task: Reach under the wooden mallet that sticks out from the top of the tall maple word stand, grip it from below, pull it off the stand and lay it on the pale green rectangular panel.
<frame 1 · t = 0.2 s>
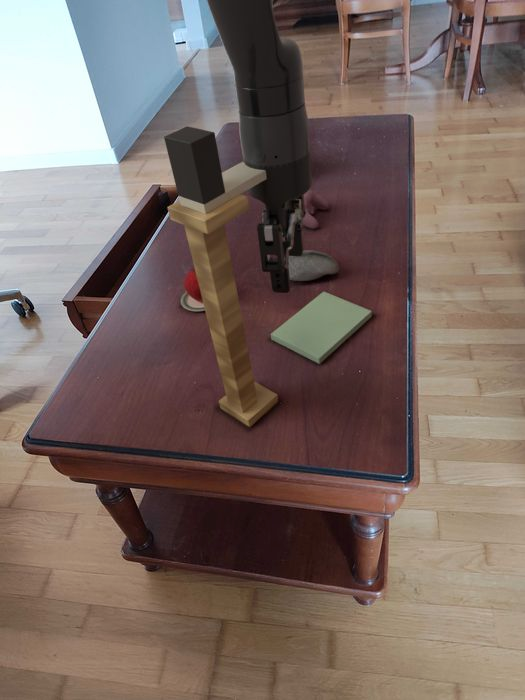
hand: (288, 272, 67), 17 cm above the table, tool pointing down, fingers open, 8 cm apart
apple: (203, 300, 95), on the table
video game controller: (310, 219, 113), on the table
pale green rectangular panel: (321, 328, 85), on the table
wooden mallet: (237, 184, 55), point 31 cm above the table, touching word stand
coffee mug: (286, 175, 131), on the table
seashell: (307, 274, 97), on the table
word stand: (249, 404, 74), on the table
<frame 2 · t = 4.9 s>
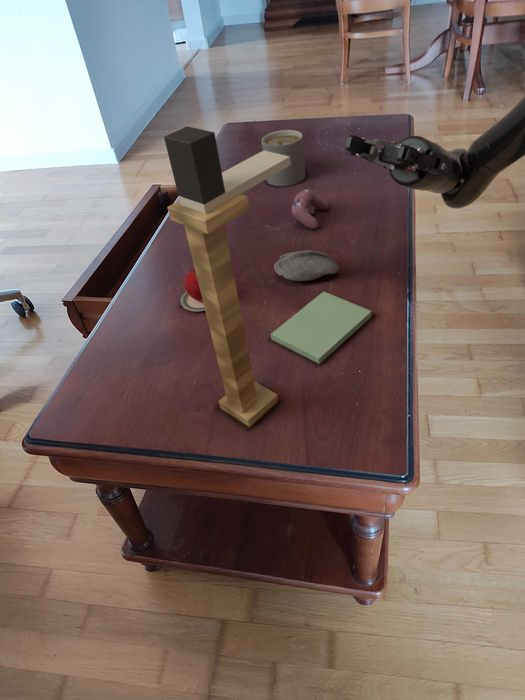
hand: (374, 147, 72), 26 cm above the table, tool pointing upward, fingers open, 8 cm apart
nothing on the table moved.
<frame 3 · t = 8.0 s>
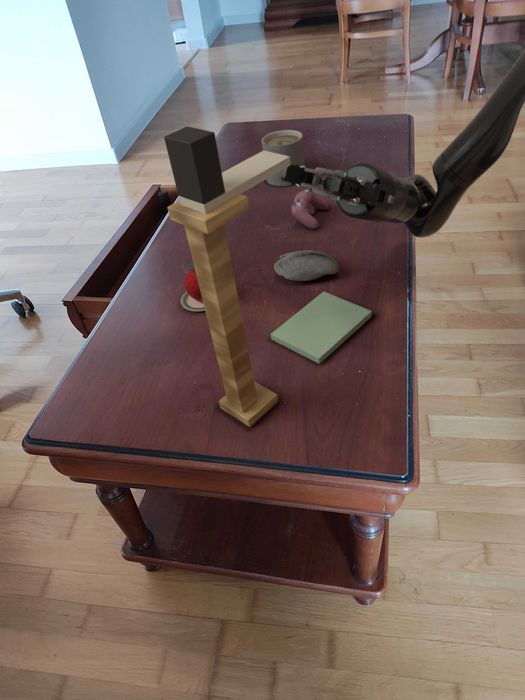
hand: (310, 178, 64), 27 cm above the table, tool pointing upward, fingers open, 8 cm apart
nothing on the table moved.
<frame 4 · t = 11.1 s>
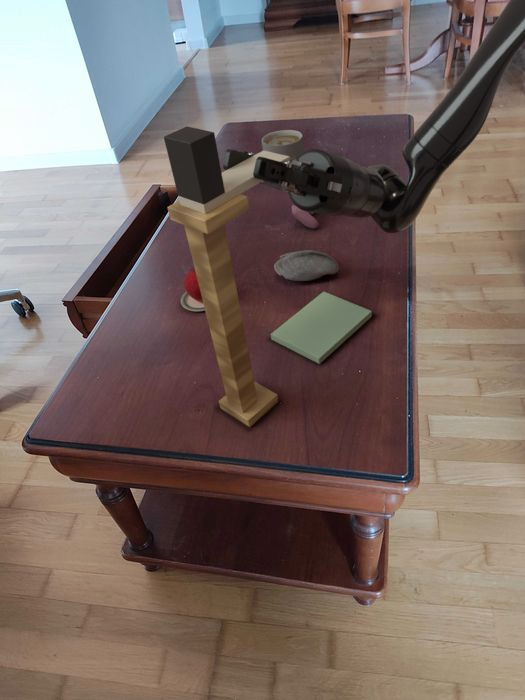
hand: (242, 163, 54), 33 cm above the table, tool pointing upward, fingers closed on wooden mallet, 4 cm apart
wooden mallet: (237, 184, 55), point 32 cm above the table, touching gripper, word stand
everything else where it was.
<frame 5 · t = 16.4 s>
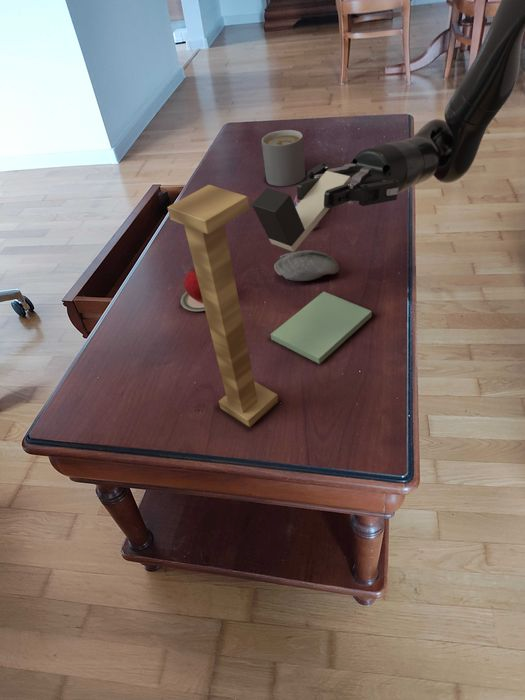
hand: (312, 196, 67), 24 cm above the table, tool horizontal, fingers closed on wooden mallet, 4 cm apart
wooden mallet: (311, 212, 68), point 22 cm above the table, tilted 20°, touching gripper
everything else where it was.
when the fingers open (7 cm above the table, at t = 21.6 s): wooden mallet drops 3 cm, resting on pale green rectangular panel.
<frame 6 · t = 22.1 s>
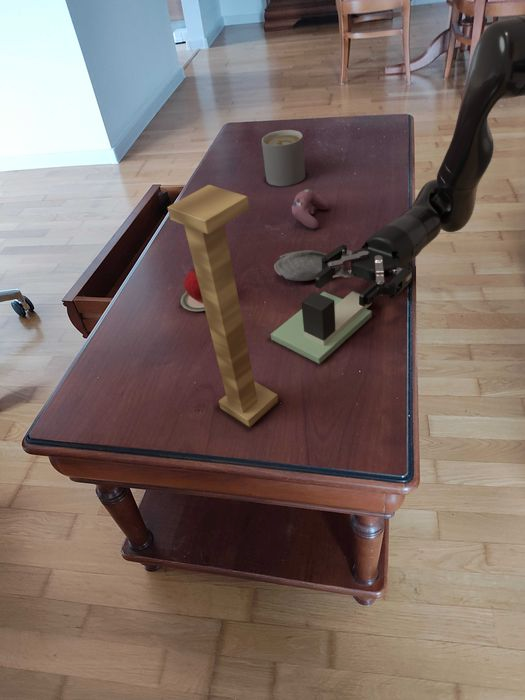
hand: (338, 292, 80), 7 cm above the table, tool horizontal, fingers open, 8 cm apart
wooden mallet: (338, 319, 84), point 1 cm above the table, touching pale green rectangular panel
everything else where it was.
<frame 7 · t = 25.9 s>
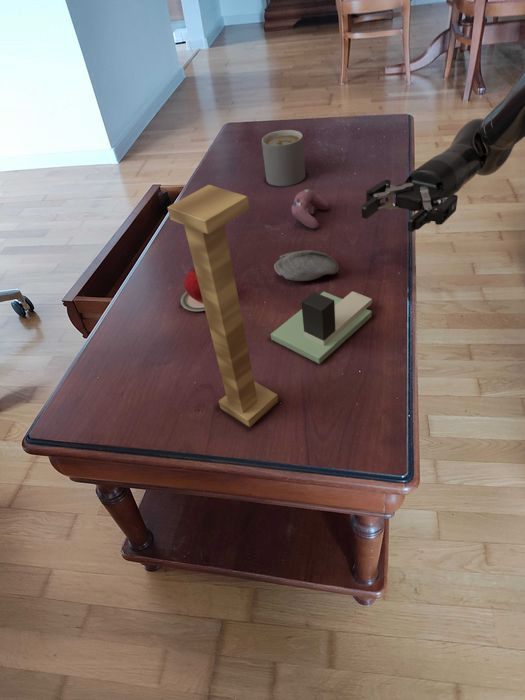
hand: (386, 219, 82), 13 cm above the table, tool horizontal, fingers open, 8 cm apart
nothing on the table moved.
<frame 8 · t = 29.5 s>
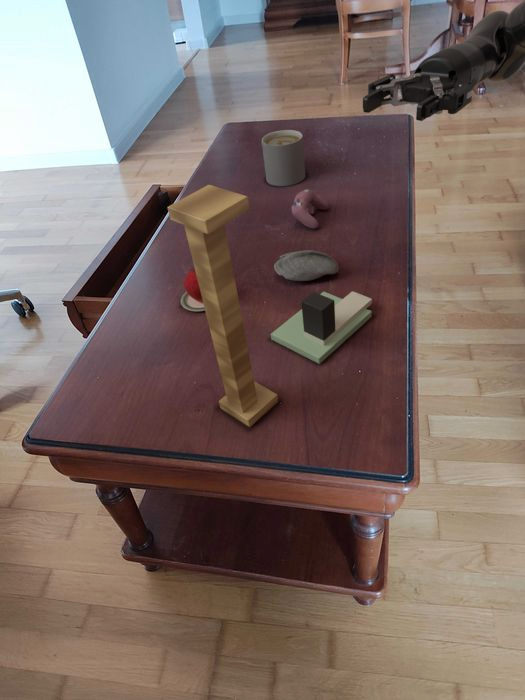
hand: (391, 109, 71), 30 cm above the table, tool horizontal, fingers open, 8 cm apart
nothing on the table moved.
at the end: wooden mallet inside the target area on the pale green rectangular panel (2.9 cm from its centre), point 1.2 cm above the pale green rectangular panel's base; the gripper is holding nothing; wooden mallet point 1.2 cm above the table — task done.
